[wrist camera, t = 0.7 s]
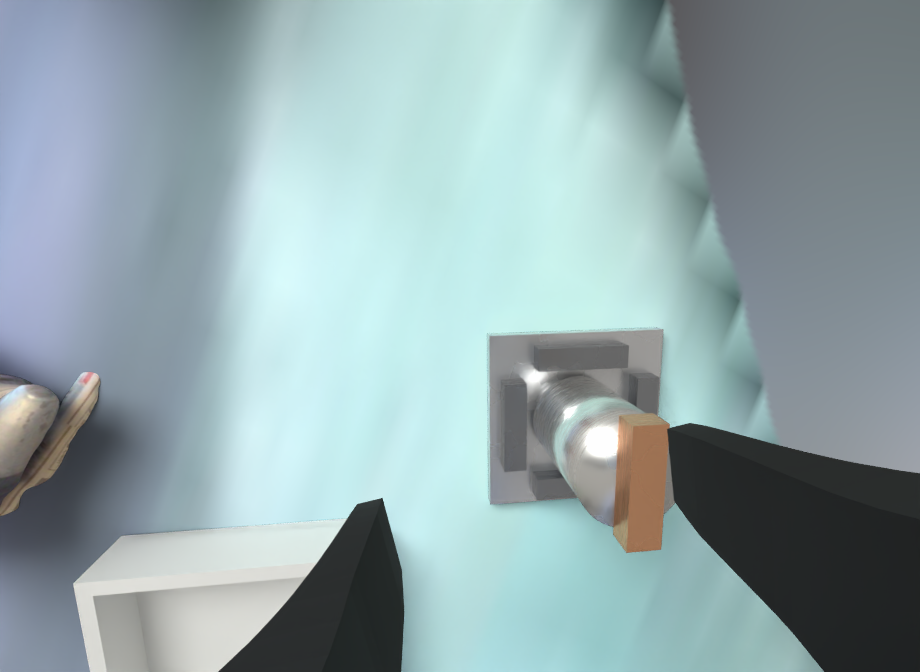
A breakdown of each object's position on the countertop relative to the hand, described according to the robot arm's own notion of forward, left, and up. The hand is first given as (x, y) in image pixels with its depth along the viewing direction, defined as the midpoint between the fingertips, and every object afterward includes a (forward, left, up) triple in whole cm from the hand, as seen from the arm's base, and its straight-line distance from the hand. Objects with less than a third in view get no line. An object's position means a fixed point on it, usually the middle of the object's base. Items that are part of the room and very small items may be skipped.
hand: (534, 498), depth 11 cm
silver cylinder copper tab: (-2, -5, -9) cm, 11 cm away
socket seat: (-2, -5, -10) cm, 11 cm away
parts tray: (-12, +10, -10) cm, 19 cm away
